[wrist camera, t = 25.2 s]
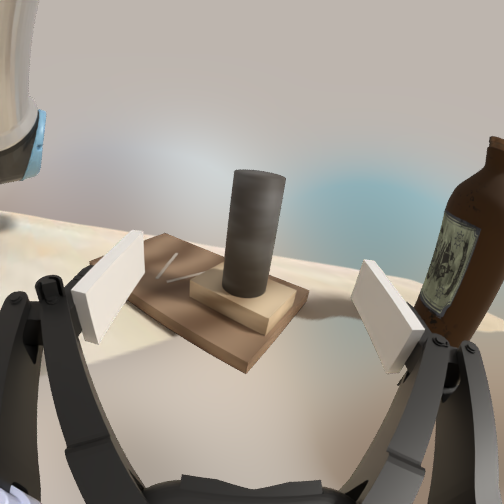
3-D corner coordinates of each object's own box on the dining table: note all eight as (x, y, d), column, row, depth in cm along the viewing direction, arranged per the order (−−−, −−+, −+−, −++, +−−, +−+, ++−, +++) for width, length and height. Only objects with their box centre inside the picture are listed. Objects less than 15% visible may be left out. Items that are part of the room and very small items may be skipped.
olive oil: (448, 312, 33) (499, 151, 22) (478, 358, 23) (553, 165, 13) (394, 306, 33) (445, 122, 23) (420, 360, 24) (502, 124, 13)
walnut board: (90, 271, 31) (89, 261, 30) (165, 241, 42) (165, 232, 42) (245, 373, 21) (248, 362, 20) (306, 300, 32) (309, 290, 32)
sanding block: (189, 296, 28) (196, 167, 22) (223, 275, 32) (236, 164, 27) (265, 335, 24) (295, 189, 18) (292, 306, 29) (320, 183, 23)
